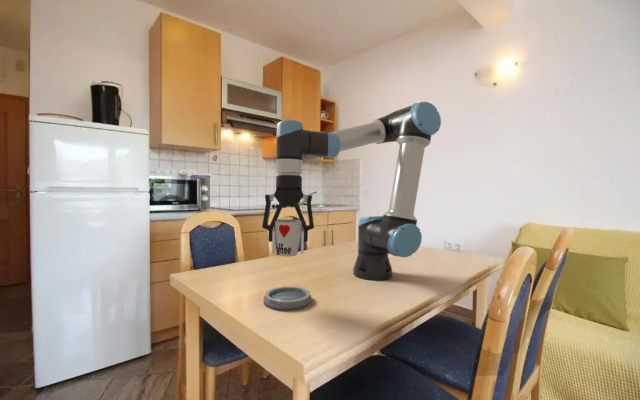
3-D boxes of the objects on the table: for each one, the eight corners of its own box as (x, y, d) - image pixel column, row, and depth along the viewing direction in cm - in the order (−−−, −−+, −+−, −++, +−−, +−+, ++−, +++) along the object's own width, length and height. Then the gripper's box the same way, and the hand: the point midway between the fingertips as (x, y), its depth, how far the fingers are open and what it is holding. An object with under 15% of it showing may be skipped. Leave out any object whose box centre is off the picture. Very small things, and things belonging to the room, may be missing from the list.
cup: (268, 254, 86) (268, 220, 86) (289, 250, 92) (290, 218, 92) (286, 259, 80) (287, 222, 80) (307, 254, 86) (308, 221, 86)
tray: (310, 292, 94) (310, 285, 94) (312, 310, 80) (312, 302, 80) (266, 292, 93) (266, 286, 93) (260, 310, 79) (260, 302, 79)
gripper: (323, 176, 90) (321, 250, 91) (255, 175, 89) (255, 250, 89) (325, 174, 82) (323, 255, 83) (251, 173, 81) (250, 255, 82)
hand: (288, 252), depth 86 cm, fingers closed on cup, 8 cm apart
